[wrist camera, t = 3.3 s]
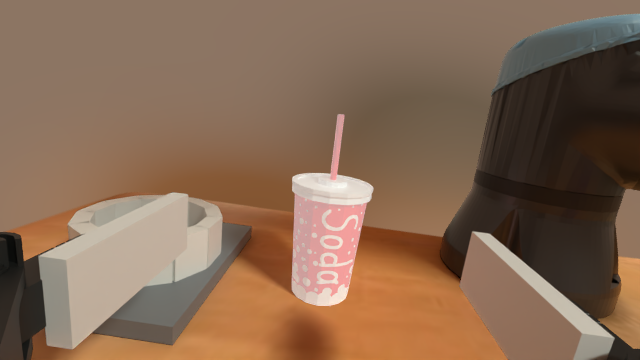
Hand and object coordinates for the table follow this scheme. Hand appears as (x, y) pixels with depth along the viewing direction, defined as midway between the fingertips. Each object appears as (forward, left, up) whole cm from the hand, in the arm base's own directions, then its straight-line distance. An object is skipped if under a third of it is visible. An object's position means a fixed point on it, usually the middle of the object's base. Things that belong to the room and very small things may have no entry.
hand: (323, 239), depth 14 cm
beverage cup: (0, -10, -9) cm, 13 cm away
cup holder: (+14, -10, -8) cm, 19 cm away
